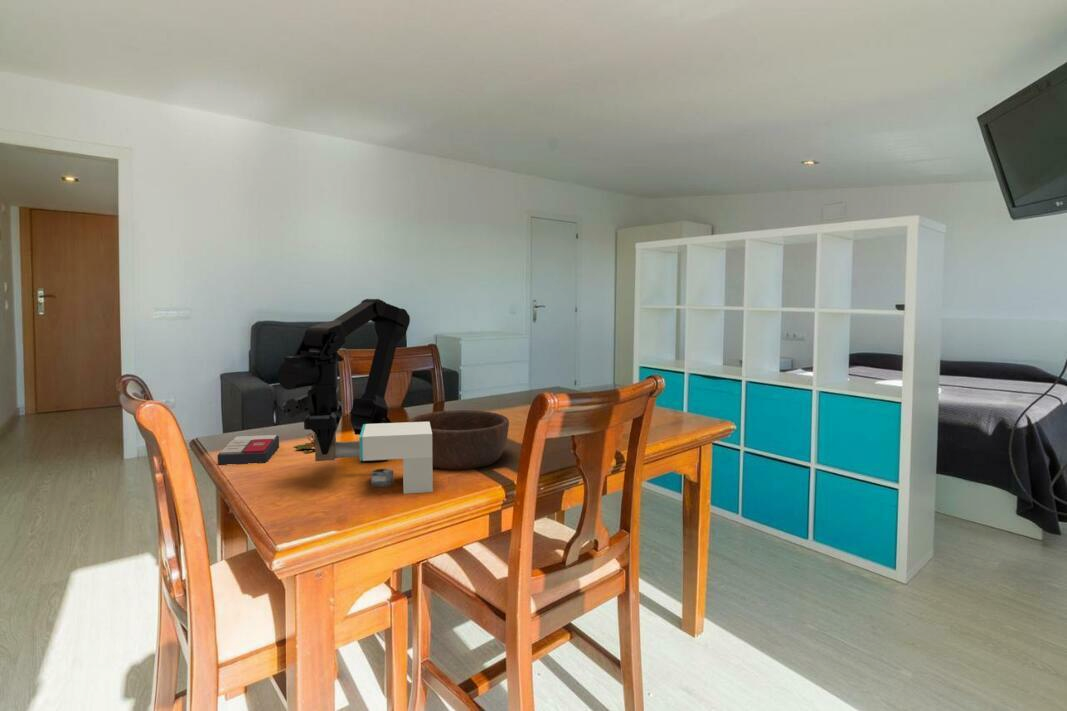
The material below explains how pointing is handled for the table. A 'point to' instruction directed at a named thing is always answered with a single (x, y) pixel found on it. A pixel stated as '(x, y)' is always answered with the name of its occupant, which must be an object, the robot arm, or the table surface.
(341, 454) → the grey mallet
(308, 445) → the lily flower
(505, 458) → the table surface
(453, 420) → the wooden bowl
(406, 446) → the l-shaped block
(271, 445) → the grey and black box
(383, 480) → the steel puck
